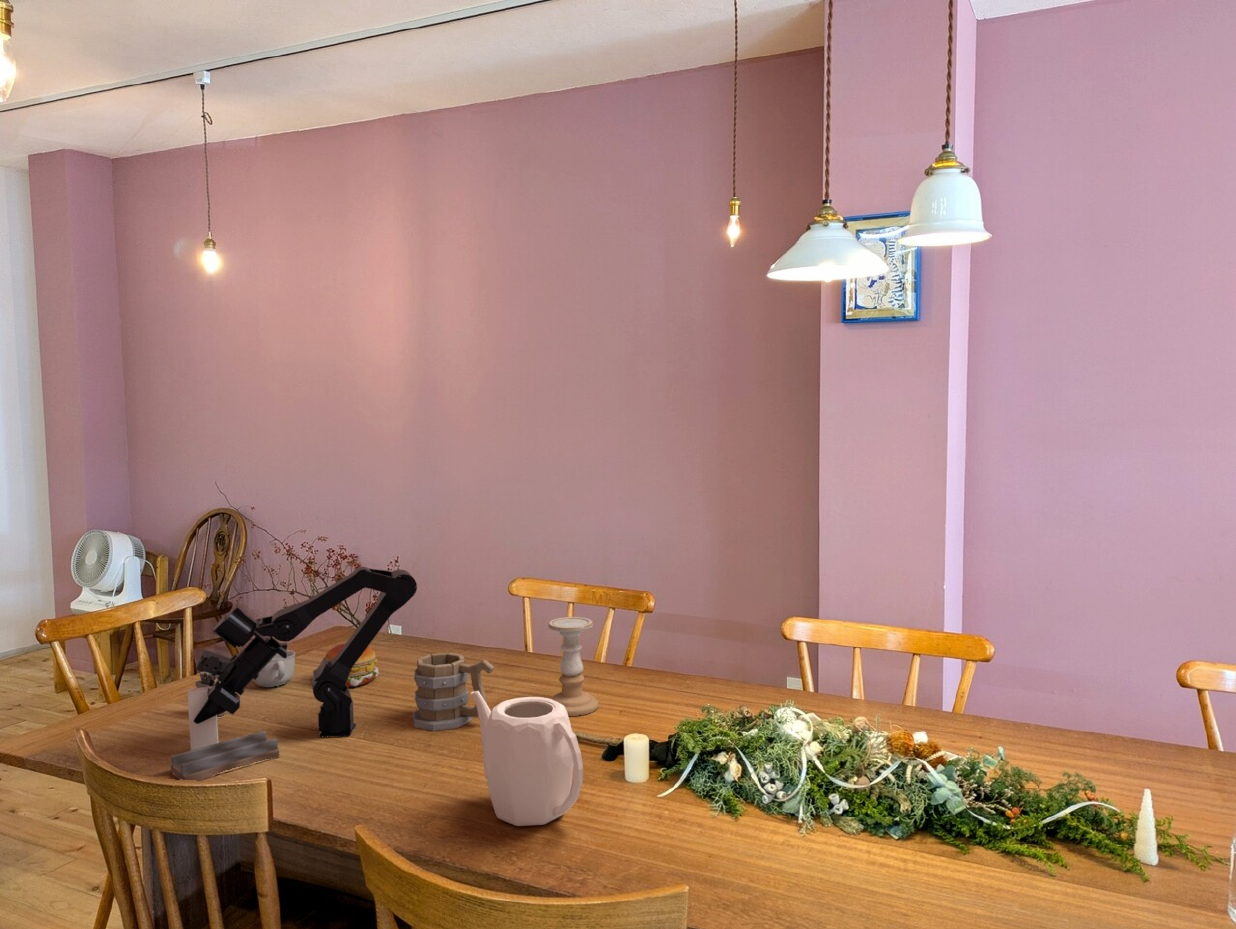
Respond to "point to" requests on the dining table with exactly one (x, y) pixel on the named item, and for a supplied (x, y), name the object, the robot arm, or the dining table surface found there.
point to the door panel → (205, 730)
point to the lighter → (207, 684)
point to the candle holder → (572, 667)
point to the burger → (358, 666)
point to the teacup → (277, 671)
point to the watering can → (529, 759)
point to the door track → (223, 756)
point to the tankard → (446, 691)
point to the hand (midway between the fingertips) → (195, 720)
